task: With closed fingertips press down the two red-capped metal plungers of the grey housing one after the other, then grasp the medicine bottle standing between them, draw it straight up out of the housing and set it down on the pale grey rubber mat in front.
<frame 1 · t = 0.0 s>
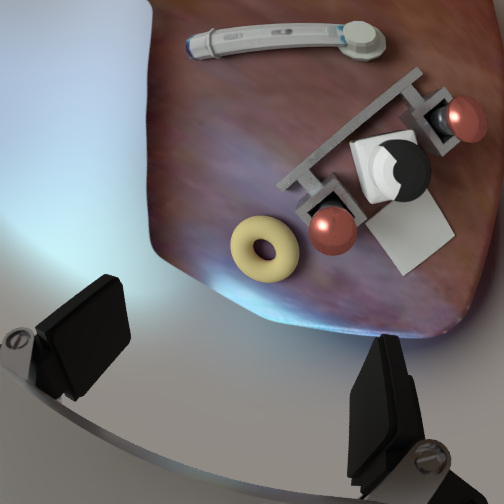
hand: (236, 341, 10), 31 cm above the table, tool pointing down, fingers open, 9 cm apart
plunger b: (332, 220, 30), point 9 cm above the table, slide at 0.0 cm
medicine bottle: (380, 161, 34), on the table
toothbrush head: (286, 44, 31), on the table
housing: (381, 161, 34), on the table
mat: (411, 228, 36), on the table
donut: (267, 245, 43), on the table
plunger a: (453, 120, 22), point 8 cm above the table, slide at 0.0 cm
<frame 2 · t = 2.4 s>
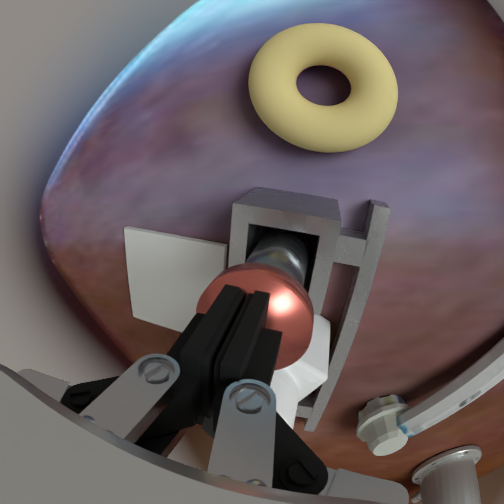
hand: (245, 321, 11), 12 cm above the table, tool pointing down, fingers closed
plunger b: (271, 281, 15), point 8 cm above the table, slide at 0.1 cm, touching gripper
medicine bottle: (276, 325, 26), on the table
toothbrush head: (457, 364, 23), on the table
housing: (276, 326, 26), on the table
mat: (173, 284, 27), on the table
donut: (323, 89, 18), on the table
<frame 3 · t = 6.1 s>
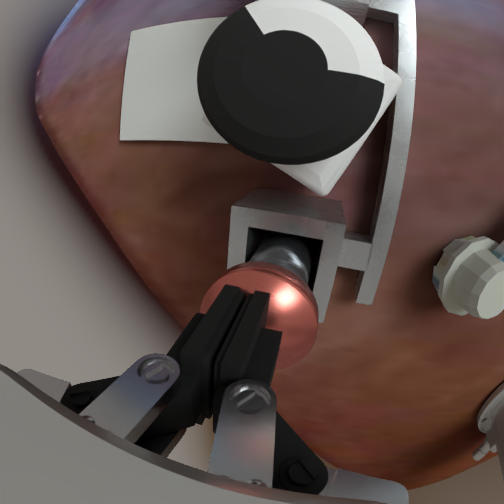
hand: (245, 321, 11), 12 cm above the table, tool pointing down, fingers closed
medicine bottle: (309, 110, 18), on the table
housing: (309, 109, 18), on the table
mat: (178, 78, 19), on the table
plunger a: (275, 280, 14), point 8 cm above the table, slide at 1.0 cm, touching gripper
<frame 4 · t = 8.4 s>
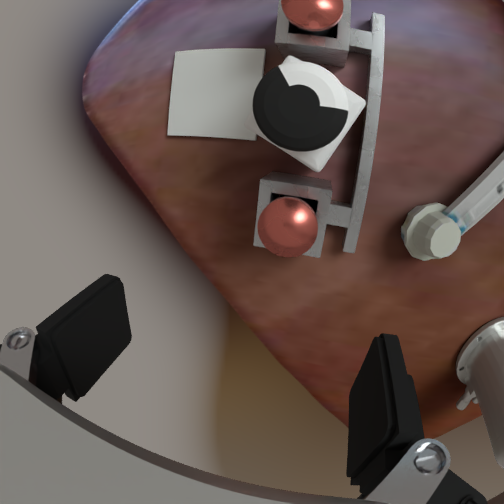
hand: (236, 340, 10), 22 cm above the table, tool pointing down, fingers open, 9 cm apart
plunger b: (314, 20, 18), point 5 cm above the table, slide at 3.7 cm
medicine bottle: (308, 118, 26), on the table
toothbrush head: (481, 176, 24), on the table
housing: (308, 118, 26), on the table
mat: (214, 92, 27), on the table
plunger a: (292, 215, 26), point 5 cm above the table, slide at 3.7 cm
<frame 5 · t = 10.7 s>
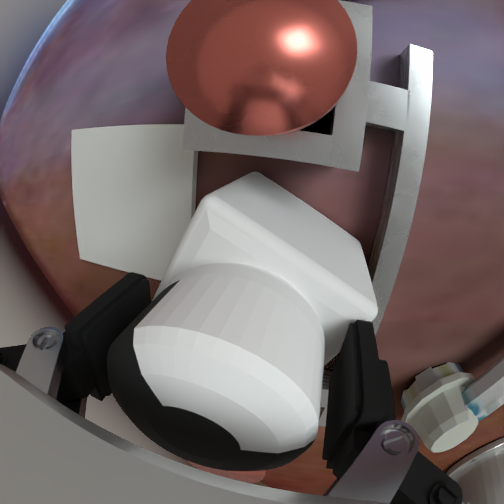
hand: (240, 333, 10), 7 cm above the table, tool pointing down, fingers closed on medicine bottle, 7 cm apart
plunger b: (280, 76, 9), point 5 cm above the table, slide at 3.7 cm
medicine bottle: (275, 253, 17), on the table, touching gripper
housing: (275, 255, 17), on the table
mat: (128, 200, 18), on the table
plunger a: (242, 415, 16), point 5 cm above the table, slide at 3.7 cm
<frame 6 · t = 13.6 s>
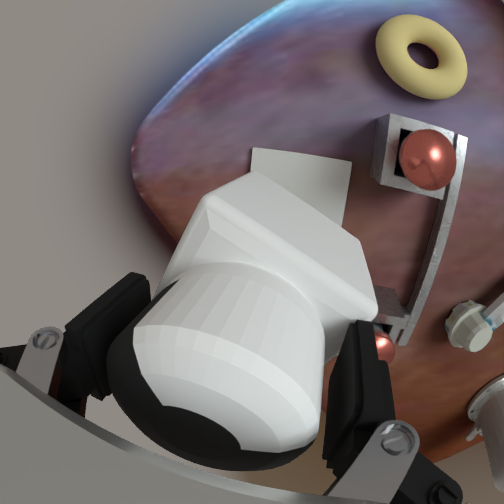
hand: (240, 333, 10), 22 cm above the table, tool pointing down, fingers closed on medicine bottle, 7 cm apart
plunger b: (415, 156, 21), point 5 cm above the table, slide at 3.7 cm
medicine bottle: (275, 252, 17), point 14 cm above the table, touching gripper
housing: (384, 235, 29), on the table
mat: (296, 200, 30), on the table
donut: (418, 59, 21), on the table
plunger a: (368, 331, 28), point 5 cm above the table, slide at 3.7 cm
when the fingers open (9 cm above the table, at t = 16.4 s): medicine bottle stays where it is, resting on mat.
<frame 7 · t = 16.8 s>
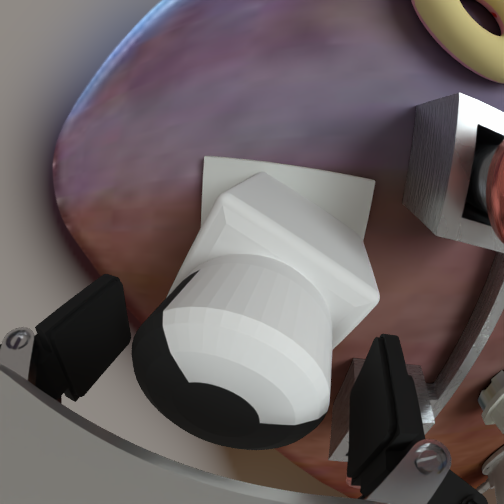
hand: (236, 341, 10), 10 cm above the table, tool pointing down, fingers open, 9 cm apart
plunger b: (492, 179, 9), point 5 cm above the table, slide at 3.7 cm
medicine bottle: (281, 248, 18), resting on mat
housing: (417, 297, 17), on the table
mat: (279, 244, 18), on the table
donut: (470, 22, 10), on the table
plunger a: (379, 432, 17), point 5 cm above the table, slide at 3.7 cm
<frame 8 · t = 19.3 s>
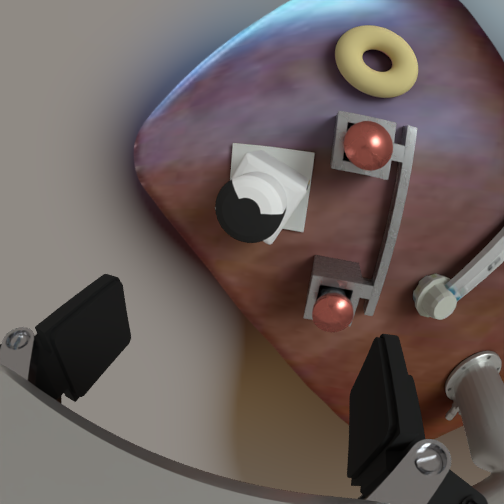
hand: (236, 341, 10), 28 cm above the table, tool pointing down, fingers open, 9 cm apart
plunger b: (363, 144, 27), point 5 cm above the table, slide at 3.7 cm
medicine bottle: (270, 188, 36), resting on mat
toothbrush head: (478, 249, 32), on the table
housing: (346, 215, 35), on the table
mat: (269, 186, 36), on the table
donut: (375, 63, 27), on the table
plunger a: (332, 297, 34), point 5 cm above the table, slide at 3.7 cm
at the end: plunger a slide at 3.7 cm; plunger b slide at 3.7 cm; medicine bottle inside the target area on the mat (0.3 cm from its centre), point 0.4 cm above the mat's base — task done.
